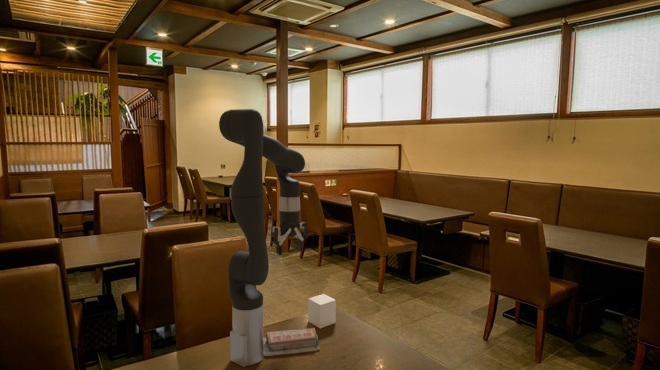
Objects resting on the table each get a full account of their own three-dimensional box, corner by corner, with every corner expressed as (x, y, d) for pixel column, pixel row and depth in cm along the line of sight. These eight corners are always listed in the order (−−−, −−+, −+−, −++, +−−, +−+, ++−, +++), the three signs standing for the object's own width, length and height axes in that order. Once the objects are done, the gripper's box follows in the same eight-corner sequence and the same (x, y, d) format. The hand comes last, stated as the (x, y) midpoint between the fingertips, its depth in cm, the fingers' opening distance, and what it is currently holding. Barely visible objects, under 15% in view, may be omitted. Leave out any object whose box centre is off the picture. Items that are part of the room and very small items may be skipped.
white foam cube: (335, 322, 145) (335, 299, 144) (320, 328, 140) (320, 305, 139) (323, 315, 151) (323, 293, 150) (308, 321, 146) (308, 298, 145)
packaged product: (314, 323, 135) (320, 337, 126) (314, 336, 136) (320, 352, 126) (261, 328, 131) (263, 343, 122) (261, 342, 132) (263, 358, 122)
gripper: (300, 205, 148) (299, 247, 150) (267, 209, 139) (267, 253, 141) (311, 208, 142) (311, 251, 144) (278, 212, 133) (278, 258, 135)
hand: (289, 252), depth 143 cm, fingers open, 8 cm apart
